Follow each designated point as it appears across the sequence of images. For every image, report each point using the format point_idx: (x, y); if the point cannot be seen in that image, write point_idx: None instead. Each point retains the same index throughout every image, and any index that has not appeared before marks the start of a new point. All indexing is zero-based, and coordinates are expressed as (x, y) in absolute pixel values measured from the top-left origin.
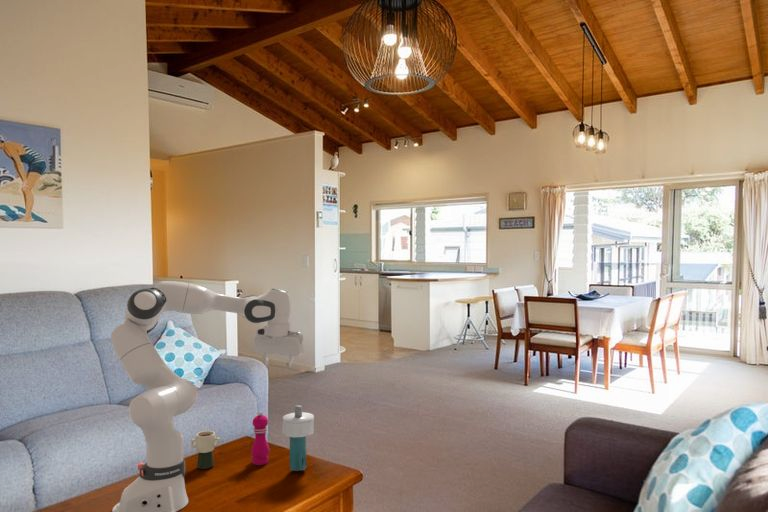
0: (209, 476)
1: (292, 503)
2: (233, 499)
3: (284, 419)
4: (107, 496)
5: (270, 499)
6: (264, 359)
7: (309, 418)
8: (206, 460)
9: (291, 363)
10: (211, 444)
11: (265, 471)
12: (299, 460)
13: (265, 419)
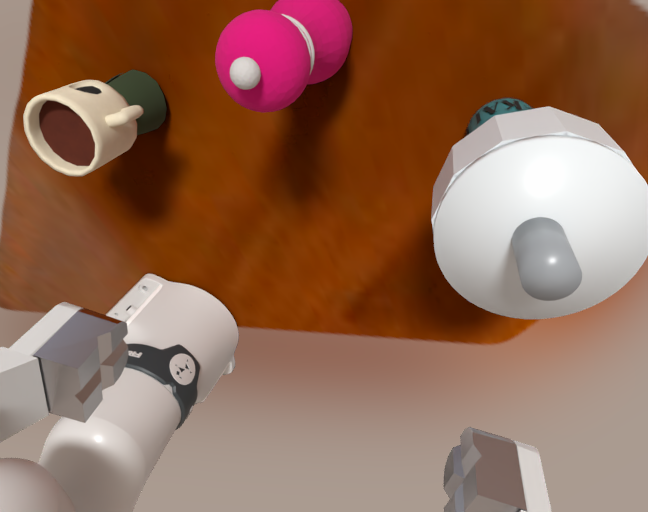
0: (198, 173)
1: (500, 337)
2: (334, 308)
3: (451, 283)
4: (43, 279)
5: (434, 314)
6: (1, 423)
7: (617, 275)
8: (142, 132)
9: (540, 500)
10: (122, 145)
11: (368, 128)
12: None
13: (295, 85)
